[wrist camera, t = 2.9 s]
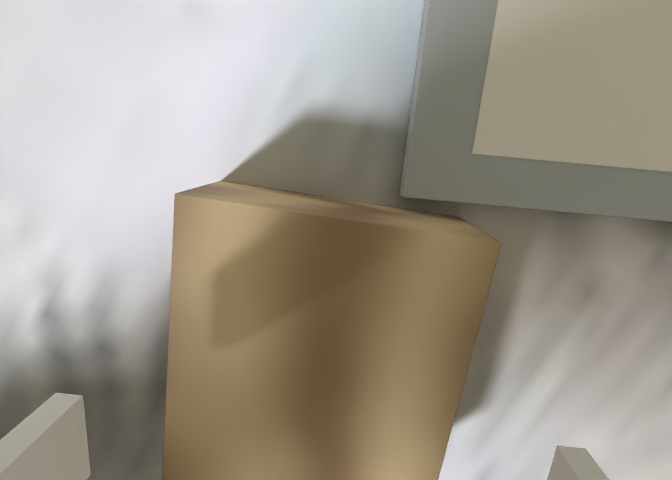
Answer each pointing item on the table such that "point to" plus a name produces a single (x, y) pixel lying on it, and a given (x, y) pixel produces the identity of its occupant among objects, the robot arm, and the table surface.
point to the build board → (544, 106)
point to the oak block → (316, 335)
